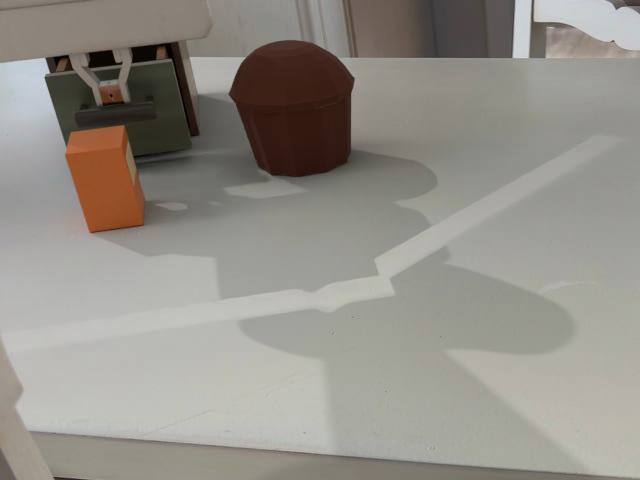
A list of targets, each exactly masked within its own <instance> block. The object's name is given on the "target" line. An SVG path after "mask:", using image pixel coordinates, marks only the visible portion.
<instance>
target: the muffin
mask: <svg viewBox="0 0 640 480" xmlns="http://www.w3.org/2000/svg"><path fill="white" fill-rule="evenodd" d="M355 80H356V77H355V76H354V75H353V74H352V73H351V72H350V70H349V68H347V67H346V65H345V64H344V62H342V61H341V59H340V58H339V57H337V56H336V55H335V54H333V53H332V52H331V51H330V50H329V51H328V50H327V49H325V48H323V47H322V46H319V45H317V44H316V43H313V42H312V41H311V42H310V41H305V40H298V39H284V40H276V41H272V42H269V43H266V44H263V45H261V46H259V47H257V48H255V49H254V50H253V51H252V52H250V53H249V54H248V55H247V56H246V57H245V58H244V59H243V60H242V61H241V63H240V64H239V66H238V69H237V71H236V73H235V75H234V78H233V81H232V84H231V87H230V90H229V92H228V94H227V95H228V96H229V97H230V99H231V100H232V102H233V103H234V104H235V106H236V110H237V112H238V114H239V118H240V120H241V124H242V126H243V129H244V131H245V134H246V137H247V140H248V142H249V146H250V148H251V151H252V154H253V157H254V159H255V162H256V165H257V168H259V169H261V170H264V171H266V172H267V173H268V174H269V175H271V176H289V177H290V176H291V177H303V176H307V175H313V174H320V173H321V174H322V173H328V172H330V171H332V170H333V169H335V168H337V167H339V166H342V165H345V164H347V163H348V162H349V156H350V155H351V153H352V92H353V89H354V87H355Z"/></svg>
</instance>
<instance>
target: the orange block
mask: <svg viewBox="0 0 640 480" xmlns="http://www.w3.org/2000/svg"><path fill="white" fill-rule="evenodd" d="M65 148H66V147H65ZM64 157H65V161H66V163H67V166H68V170H69V173H70V177H71V179H72V182H73V186H74V188H75V191H76V195H77V198H78V202H79V204H80V207H81V210H82V214H83V216H84V217H83V218H84V220H85V223H86V226H87V230H88V233H95V232H102V231H108V230H116V229H123V228H129V227H136V226H143V225H144V219H145V208H146V207H145V206H146V197H145V193H144V189H143V187H142V183H141V179H140V176H139V172H138V169H137V165H136V161H135V158H134V156H133V154H132V150H131V147H130V143H129V139H128V136H127V132H126V128H125V126H124V125H122V126H114V127H106V128H99V129H91V130H83V131H76V132H71V134H70V137H69V141H68V145H67V148H66V149H65V152H64Z"/></svg>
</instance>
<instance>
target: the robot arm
mask: <svg viewBox="0 0 640 480" xmlns="http://www.w3.org/2000/svg"><path fill="white" fill-rule="evenodd" d="M213 19H214V18H213V15H212V11H211V7H210V3H209V0H0V64H5V63H12V62H22V61H28V60H39V59H45V58H47V57H55V56H63V55H69V57H70V61H71V64H72V67H73V69H74V70H75V71H76V72H77V74H78V75H79V76H80V77H81V78H82V79H83V80H84V81H85V82H86V83H87V84H88V85H89V86H90V87H92V90H93V93H94V97H95V100H96V104H97V106H98V107H103V106H110V105H118V104H126V103H131V97H130V92H129V89H128V85H127V78H128V74H129V70H130V66H131V63H132V57H133V55H132V51H131V47H138V46H146V45H154V44H162V43H171V42H179V41H186V42H187V41H195V40H202V39H203V40H204V39H207V38H208V37H209V36H210V34H211V31H213V28H214V20H213ZM105 50H112V51H113V54H114V58H115V62H117V63H119V62H122V66H121V70H120V74H119V78H118V79H114V80H107V81H100V80H99V79H98V78H97V76H96V75H95V74H94V73H93V72H92V71H91V70H90V68H89V67H88V64H89V61H90V57H89V54H88V52H96V51H105Z"/></svg>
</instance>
